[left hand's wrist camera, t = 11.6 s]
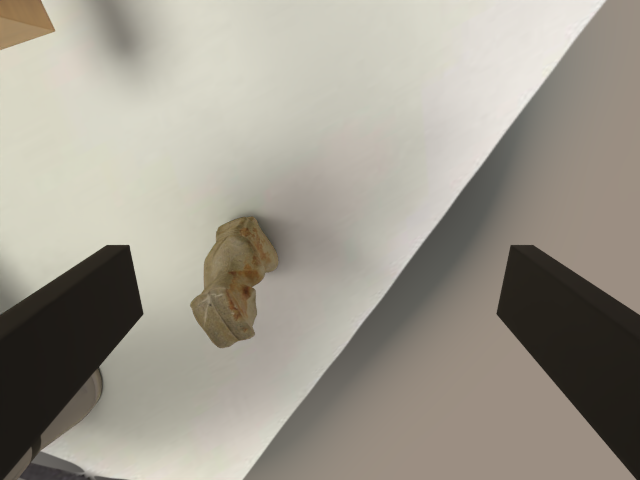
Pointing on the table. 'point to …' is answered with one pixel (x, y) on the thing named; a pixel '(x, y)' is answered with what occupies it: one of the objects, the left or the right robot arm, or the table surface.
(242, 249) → the sculpture
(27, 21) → the bar
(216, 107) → the table surface
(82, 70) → the table surface
